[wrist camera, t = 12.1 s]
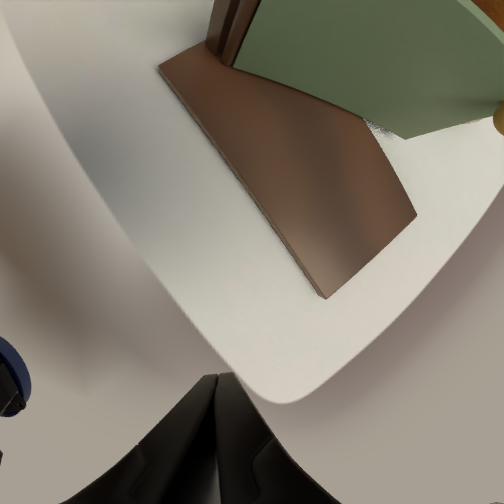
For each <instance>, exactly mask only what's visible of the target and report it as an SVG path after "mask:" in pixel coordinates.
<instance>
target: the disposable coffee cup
mask: <svg viewBox="0 0 504 504" xmlns="http://www.w3.org/2000/svg"><path fill="white" fill-rule="evenodd" d="M471 1H472V2H473V3H474V4H475V5H476V6H477V7H478V8H480V9H481V10H482V11H483V12H484V13H485V14H486V15H487V16H488V17H489V18H490V19H491V20H492V21H493V22H494V23H495V24H496V25H497V26H498V27H499V28H500V29H501V30H502V31H503V33H504V0H471Z"/></svg>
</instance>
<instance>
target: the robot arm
mask: <svg viewBox="0 0 504 504" xmlns="http://www.w3.org/2000/svg"><path fill="white" fill-rule="evenodd" d="M20 403H21V404H22V405H21V404H20ZM25 408H26V402H25V400H24V399H23V397H22V395H21V393H20V391H19V390H18V388H17V386H16V384H15V382H14V380H13V378H12V376H11V375H10V373H9V371H8V369H7V367H6V364H5V362H4V360H3V358H2V356H1V354H0V416H1V414H2V413H5V412H12V411H19V410H24V409H25ZM138 445H139V446H138ZM138 445H136V446H135V447H134V448H133V449H132V450H131V451H130V452H129V453H128V454H126V455H125V456H124V457H123V458H122V459H121V460H120V461H119V462H118V463H116V464H115V465H114V466H113V467H112V468H110V469H109V470H108V471H107V472H105V473H104V474H103V475H102V476H100V477H99V478H98V479H96V480H95V481H94V482H92V483H91V484H90V485H88V486H87V487H86V488H84V489H82V490H81V491H80V492H78V493H77V494H76V495H74V496H73V497H71V498H70V499H68V500H66V501H64V502H62V503H60V504H341V503H340V502H339V501H338V500H336V499H335V498H334V497H333V496H331V495H330V494H329V493H328V492H327V491H326V490H325V489H323V488H322V487H321V486H320V485H319V484H318V483H317V482H316V481H315V480H314V479H312V478H311V477H310V476H309V475H308V474H307V473H306V472H305V471H304V470H303V469H302V468H301V467H300V466H299V465H298V464H297V463H296V462H295V461H294V460H293V459H292V458H291V456H290V455H289V454H288V453H287V451H286V450H285V449H284V447H283V446H282V445H281V443H280V442H279V440H278V439H277V438H276V437H275V435H274V433H273V432H272V431H271V429H270V428H269V426H268V425H267V423H266V422H265V420H264V419H263V417H262V416H261V414H260V413H259V411H258V410H257V408H256V407H255V405H254V404H253V402H252V401H251V399H250V397H249V396H248V394H247V393H246V391H245V390H244V388H243V387H242V385H241V383H240V382H239V380H238V378H237V377H236V375H235V374H234V373H233V372H227V373H221V374H219V375H218V374H210V375H204V376H203V377H202V378H201V379H200V380H199V381H198V382H197V383H196V384H195V385H194V386H193V388H192V389H191V390H190V391H189V392H188V393H187V394H186V395H185V396H184V397H183V398H182V399H181V400H180V401H179V402H178V403H177V404H176V405H175V406H174V408H172V410H170V412H169V413H168V414H167V415H166V416H165V417H164V418H163V419H162V420H161V421H160V422H159V423H158V424H157V425H156V426H155V427H154V428H153V429H152V430H151V431H150V432H149V433H148V434H147V435H146V436H145V437H144V438H143V439H142V440H141V441H140V442H139V443H138ZM2 455H3V453H2V452H1V451H0V464H1V459H2ZM491 504H503V503H497V502H496V503H491Z"/></svg>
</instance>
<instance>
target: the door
mask: <svg viewBox="0 0 504 504" xmlns="http://www.w3.org/2000/svg"><path fill="white" fill-rule="evenodd" d="M221 61H222V63H224V64H225V65H232V64H233V63H234V65H233V68H236V69H240V70H243V71H246V72H249V73H253V74H256V75H259V76H262V77H265V78H268V79H271V80H273V81H276V82H279V83H282V84H285V85H287V86H290V87H293V88H295V89H298V90H301V91H303V92H306V93H308V94H311V95H313V96H316V97H318V98H320V99H323V100H325V101H327V102H330V103H332V104H334V105H337V106H339V107H341V108H343V109H345V110H348V111H350V112H352V113H354V114H356V115H358V116H360V117H362V118H365V119H367V120H369V121H371V122H373V123H375V124H377V125H379V126H380V127H382V128H384V129H386V130H388V131H390V132H392V133H394V134H396V135H397V136H399V137H401V138H403V139H405V140H406V139H409V138H413V137H416V136H419V135H423V134H426V133H430V132H433V131H437V130H441V129H444V128H448V127H451V126H455V125H459V124H463V123H467V122H470V121H474V120H478V119H482V118H486V117H490V116H493V123H494V126H495V128H496V129H497V131H498V132H499V133H500V134H502V135H504V33H503V31H502V30H501V29H500V28H499V27H498V26H497V25H496V24H495V23H494V22H493V21H492V20H491V19H490V18H489V17H488V16H487V15H486V14H485V13H484V12H483V11H482V10H481V9H480V8H478V7H477V6H476V5H475V4H474V3H473V2H472V1H471V0H240V3H239V6H238V9H237V12H236V15H235V17H234V20H233V23H232V26H231V29H230V32H229V35H228V38H227V42H226V45H225V48H224V51H223V54H222V57H221Z"/></svg>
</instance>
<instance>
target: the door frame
mask: <svg viewBox="0 0 504 504" xmlns="http://www.w3.org/2000/svg"><path fill="white" fill-rule="evenodd" d="M239 3H240V0H215V1H214V5H213V10H212V14H211V19H210V23H209V28H208V33H207V38H206V40H205V41H203V42H201V43H199V44H197V45H195V46H193V47H191V48H189V49H187V50H185V51H184V52H182V53H180V54H178V55H176V56H174V57H173V58H171V59H169V60H167V61H165V62H164V63H162V64H160V65H159V66H158V67H159V73H160V74H161V75H162V77H163V78H164V79H165V81H166V82H167V83H168V85H169V86H170V87H171V89H172V90H173V91H174V92H175V94H176V95H177V96H178V98H179V99H180V100H181V102H182V103H183V104H184V106H185V107H186V108H187V110H188V111H189V112H190V114H191V115H192V116H193V118H194V119H195V120H196V122H197V123H198V124H199V126H200V127H201V128H202V130H203V131H204V132H205V134H206V135H207V136H208V138H209V139H210V141H211V142H212V143H213V145H214V146H215V147H216V149H217V150H218V151H219V153H220V154H221V156H222V157H223V158H224V160H225V161H226V162H227V164H228V165H229V167H230V168H231V169H232V171H233V172H234V173H235V175H236V176H237V178H238V179H239V180H240V182H241V183H242V185H243V186H244V187H245V189H246V190H247V192H248V193H249V194H250V196H251V197H252V199H253V200H254V201H255V203H256V204H257V206H258V207H259V208H260V210H261V211H262V213H263V214H264V216H265V217H266V218H267V220H268V221H269V223H270V224H271V226H272V227H273V228H274V230H275V231H276V233H277V234H278V236H279V237H280V238H281V240H282V241H283V243H284V244H285V246H286V247H287V249H288V250H289V251H290V253H291V254H292V256H293V257H294V259H295V260H296V262H297V263H298V265H299V266H300V268H301V269H302V270H303V272H304V273H305V275H306V276H307V278H308V279H309V281H310V282H311V284H312V285H313V287H314V288H315V290H316V291H317V293H318V294H319V296H320V297H322V298H324V299H328V298H329V297H330V296H331V295H332V294H333V293H335V292H336V291H337V290H338V289H339V288H340V287H342V286H343V285H344V284H345V283H346V282H347V281H348V280H349V279H351V278H352V277H353V276H354V275H355V274H356V273H357V272H358V271H360V270H361V269H362V268H363V267H364V266H365V265H366V264H367V263H368V262H370V261H371V260H372V259H373V258H374V257H375V256H376V255H377V254H378V253H379V252H380V251H381V250H382V249H384V248H385V247H386V246H387V245H388V244H389V243H390V242H391V241H392V240H393V239H394V238H395V237H396V236H397V235H398V234H399V233H400V232H401V231H402V230H403V229H404V228H405V227H407V226H408V225H409V224H410V223H411V222H412V221H413V220H414V219H415V218H416V217H417V213H416V211H415V209H414V207H413V205H412V203H411V201H410V199H409V197H408V195H407V193H406V191H405V190H404V188H403V186H402V184H401V182H400V180H399V178H398V176H397V175H396V173H395V171H394V169H393V167H392V166H391V164H390V162H389V160H388V159H387V157H386V155H385V153H384V152H383V150H382V148H381V147H380V145H379V143H378V142H377V140H376V138H375V137H374V135H373V134H372V132H371V130H370V129H369V127H368V126H367V124H366V123H365V121H364V119H363V118H362V117H360V116H358V115H356V114H354V113H352V112H350V111H348V110H345V109H343V108H341V107H339V106H337V105H334V104H332V103H330V102H327V101H325V100H323V99H320V98H318V97H316V96H313V95H311V94H308V93H306V92H303V91H301V90H298V89H295V88H293V87H290V86H287V85H285V84H282V83H279V82H276V81H273V80H271V79H268V78H265V77H262V76H259V75H256V74H253V73H249V72H246V71H243V70H240V69H236V68H233V65H234V63H233V64H232V65H225V64H224V63H222V61H221V57H222V54H223V51H224V48H225V45H226V42H227V38H228V35H229V32H230V29H231V26H232V23H233V20H234V17H235V15H236V12H237V9H238V6H239Z"/></svg>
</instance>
